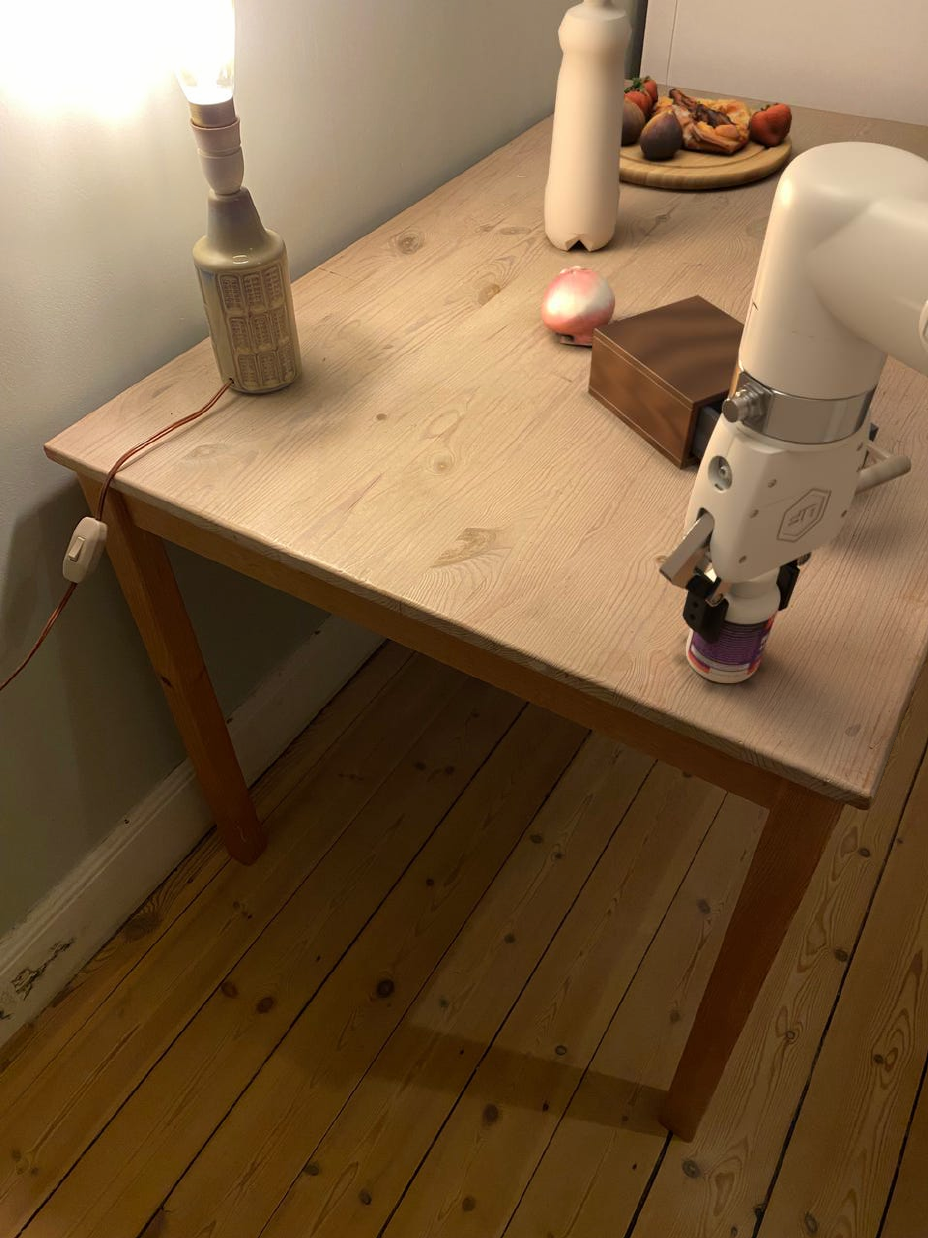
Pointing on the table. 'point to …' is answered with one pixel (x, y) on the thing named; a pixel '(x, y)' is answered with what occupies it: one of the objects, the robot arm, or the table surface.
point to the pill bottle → (738, 631)
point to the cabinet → (665, 370)
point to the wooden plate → (699, 139)
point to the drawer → (870, 475)
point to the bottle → (587, 126)
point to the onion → (577, 305)
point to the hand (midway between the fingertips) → (734, 612)
